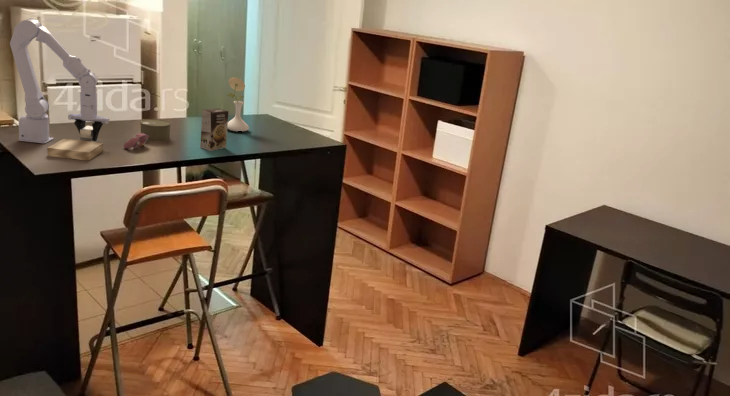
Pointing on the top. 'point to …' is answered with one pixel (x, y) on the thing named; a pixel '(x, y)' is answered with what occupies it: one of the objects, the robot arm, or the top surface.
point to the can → (156, 129)
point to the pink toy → (136, 141)
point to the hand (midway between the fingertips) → (89, 139)
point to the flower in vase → (237, 107)
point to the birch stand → (75, 149)
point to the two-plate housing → (87, 134)
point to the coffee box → (214, 129)
